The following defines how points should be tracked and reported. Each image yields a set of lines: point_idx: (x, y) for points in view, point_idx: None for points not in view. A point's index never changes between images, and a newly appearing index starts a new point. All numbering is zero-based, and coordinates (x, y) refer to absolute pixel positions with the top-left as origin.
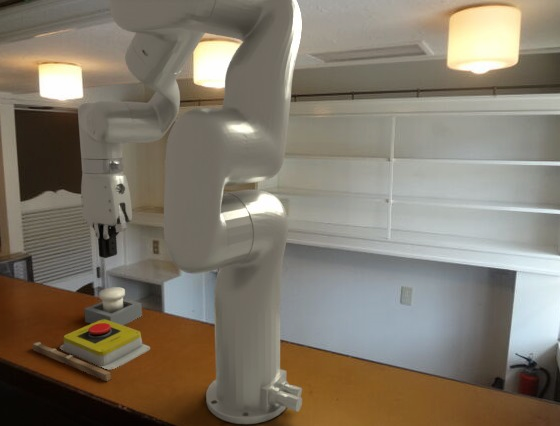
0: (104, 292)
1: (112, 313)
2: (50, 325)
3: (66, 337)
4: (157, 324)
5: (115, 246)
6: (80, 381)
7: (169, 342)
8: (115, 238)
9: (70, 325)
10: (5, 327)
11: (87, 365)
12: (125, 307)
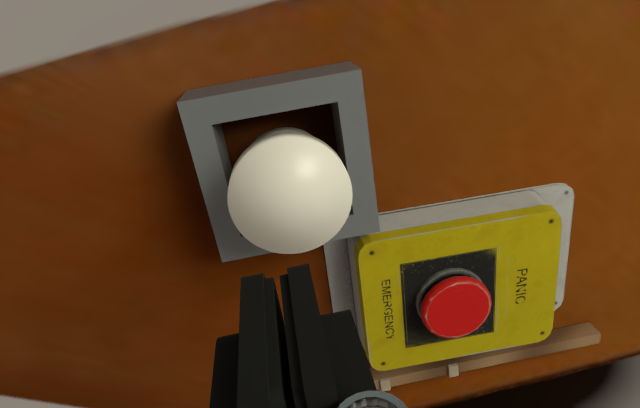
0: (273, 229)
1: (357, 212)
2: (163, 317)
3: (388, 367)
4: (461, 63)
5: (357, 338)
6: (533, 364)
7: (597, 122)
8: (331, 373)
9: (213, 276)
10: (77, 405)
11: (526, 354)
12: (345, 145)
